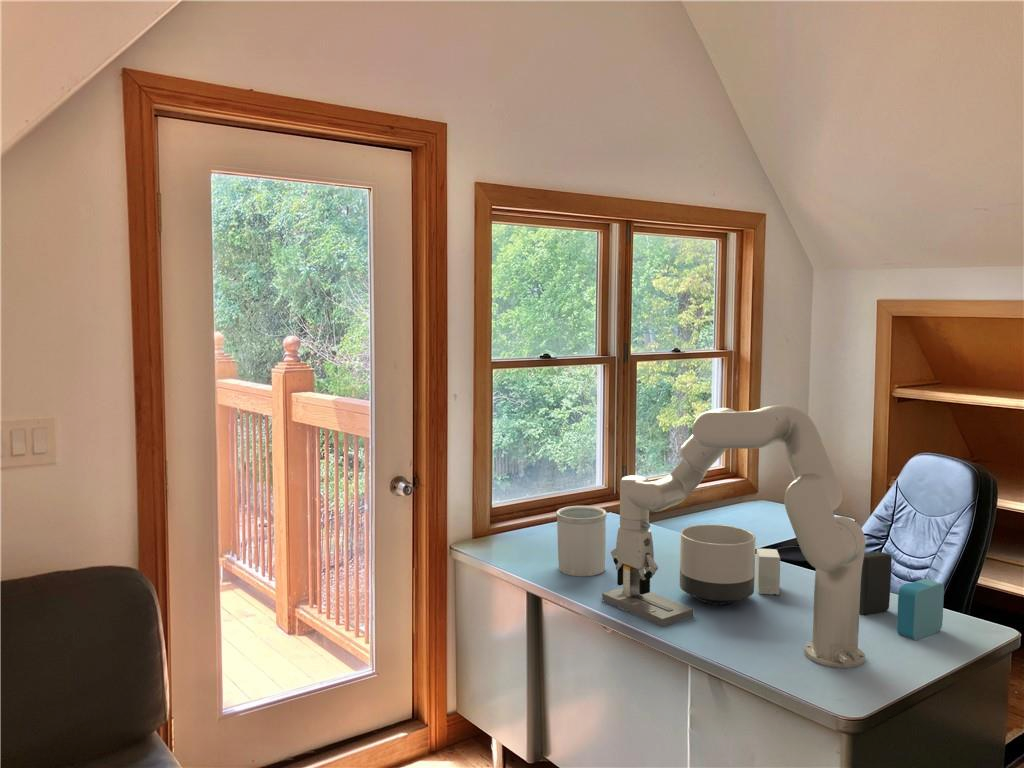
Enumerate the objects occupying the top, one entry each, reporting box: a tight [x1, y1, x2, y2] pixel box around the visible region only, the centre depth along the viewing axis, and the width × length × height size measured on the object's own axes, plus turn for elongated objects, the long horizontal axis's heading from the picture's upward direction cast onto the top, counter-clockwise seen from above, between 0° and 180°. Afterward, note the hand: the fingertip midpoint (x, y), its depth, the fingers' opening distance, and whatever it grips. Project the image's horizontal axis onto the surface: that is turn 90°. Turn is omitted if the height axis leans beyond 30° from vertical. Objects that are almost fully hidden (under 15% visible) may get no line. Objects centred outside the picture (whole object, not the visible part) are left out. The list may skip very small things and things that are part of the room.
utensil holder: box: [555, 505, 607, 577], centre depth 246 cm, size 15×15×18 cm
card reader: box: [859, 551, 893, 616], centre depth 213 cm, size 9×4×15 cm, turn 111°
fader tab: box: [622, 565, 644, 597], centre depth 219 cm, size 2×5×8 cm, turn 126°
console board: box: [601, 587, 695, 628], centre depth 216 cm, size 22×11×2 cm, turn 36°
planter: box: [679, 524, 756, 605], centre depth 222 cm, size 19×19×18 cm
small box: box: [755, 547, 781, 596], centre depth 229 cm, size 8×6×10 cm
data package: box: [896, 578, 945, 641], centre depth 199 cm, size 12×4×12 cm, turn 123°
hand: (633, 588), depth 220 cm, fingers open, 7 cm apart
